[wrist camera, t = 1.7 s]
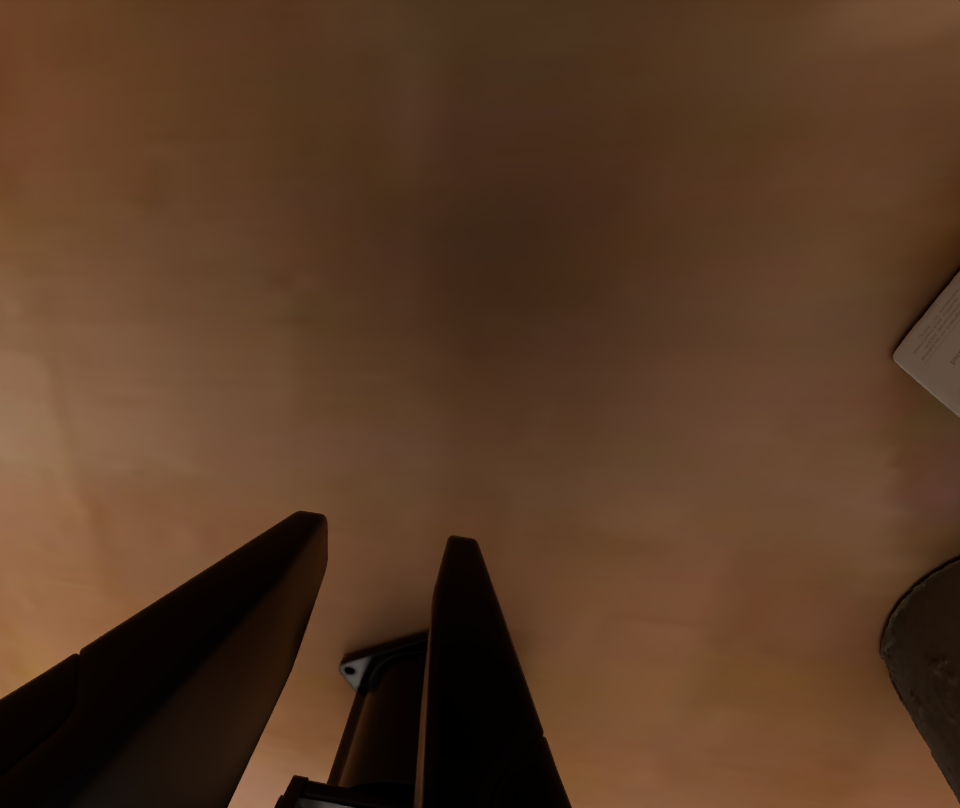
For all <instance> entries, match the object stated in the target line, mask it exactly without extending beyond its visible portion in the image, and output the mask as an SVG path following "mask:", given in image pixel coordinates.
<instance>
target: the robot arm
mask: <svg viewBox="0 0 960 808" xmlns="http://www.w3.org/2000/svg"><path fill="white" fill-rule="evenodd" d="M327 561H328V523H327V518H326V517H325V516H324V515H323V514H319V513H313V512H307V511H298V512H295V513H294V514H292V515H290V516H289V517H287V518H286V519H284V520H283V521H281V522H279V523H278V524H276V525H275V526H273V527H272V528H270V529H268V530H267V531H265V532H264V533H262V534H261V535H259V536H258V537H256V538H254V539H253V540H251V541H250V542H248V543H247V544H245V545H243V546H242V547H240V548H239V549H237V550H236V551H234V552H232V553H231V554H229V555H228V556H226V557H225V558H223V559H222V560H220V561H218V562H217V563H215V564H214V565H212V566H211V567H209V568H207V569H206V570H204V571H203V572H201V573H200V574H198V575H196V576H195V577H193V578H192V579H190V580H189V581H187V582H186V583H184V584H182V585H181V586H179V587H178V588H176V589H175V590H173V591H171V592H170V593H168V594H167V595H165V596H164V597H162V598H160V599H159V600H157V601H156V602H154V603H153V604H151V605H150V606H148V607H146V608H145V609H143V610H142V611H140V612H139V613H137V614H135V615H134V616H132V617H131V618H129V619H128V620H126V621H124V622H123V623H121V624H120V625H118V626H117V627H115V628H114V629H112V630H110V631H109V632H107V633H106V634H104V635H103V636H101V637H99V638H98V639H96V640H95V641H93V642H92V643H90V644H89V645H87V646H85V647H84V648H82V649H81V650H80V654H79V655H78V654H72V655H71V656H69V657H68V658H66V659H65V660H63V661H62V662H60V663H58V664H57V665H55V666H54V667H52V668H51V669H49V670H47V671H46V672H44V673H43V674H41V675H39V676H38V677H36V678H34V679H33V680H31V681H30V682H28V683H26V684H25V685H23V686H21V687H20V688H18V689H17V690H15V691H13V692H12V693H10V694H8V695H7V696H5V697H3V698H2V699H0V808H227V807H228V805H229V803H230V801H231V799H232V796H233V794H234V792H235V790H236V788H237V786H238V784H239V782H240V779H241V777H242V775H243V773H244V771H245V769H246V767H247V765H248V762H249V760H250V758H251V756H252V754H253V752H254V750H255V748H256V745H257V743H258V741H259V739H260V737H261V735H262V733H263V731H264V728H265V726H266V724H267V722H268V720H269V718H270V716H271V714H272V711H273V709H274V707H275V705H276V703H277V701H278V699H279V697H280V694H281V692H282V690H283V688H284V686H285V684H286V682H287V679H288V677H289V675H290V672H291V670H292V668H293V665H294V662H295V659H296V657H297V654H298V651H299V648H300V645H301V642H302V639H303V636H304V633H305V630H306V628H307V625H308V622H309V619H310V616H311V613H312V610H313V607H314V604H315V601H316V598H317V595H318V592H319V589H320V586H321V583H322V580H323V577H324V574H325V571H326V567H327ZM339 672H340V673H341V675H342V676H343V677H344V678H345V679H346V681H347V682H348V683H349V684H350V685H351V687H352V688H353V689H354V690H355V691H356V696H355V699H354V702H353V705H352V708H351V711H350V714H349V717H348V720H347V723H346V726H345V729H344V732H343V735H342V738H341V741H340V745H339V748H338V751H337V754H336V757H335V760H334V763H333V766H332V769H331V772H330V775H329V778H328V781H327V784H325V783H320V782H314V781H309V779H308V777H303V776H297V775H294V776H293V778H292V780H291V782H290V784H289V786H288V788H287V790H286V792H285V794H284V796H283V795H281V796H280V797H279V799H278V801H277V803H276V805H275V807H274V808H572V807H571V804H570V802H569V799H568V797H567V794H566V791H565V789H564V786H563V784H562V781H561V778H560V776H559V773H558V771H557V768H556V765H555V762H554V760H553V757H552V754H551V751H550V748H549V745H548V742H547V739H546V738H545V737H544V736H543V729H542V726H541V723H540V720H539V717H538V714H537V712H536V709H535V706H534V703H533V700H532V697H531V694H530V691H529V688H528V686H527V683H526V680H525V677H524V674H523V671H522V668H521V665H520V663H519V660H518V657H517V654H516V651H515V648H514V645H513V642H512V640H511V637H510V634H509V631H508V628H507V625H506V622H505V619H504V616H503V614H502V611H501V608H500V605H499V602H498V599H497V596H496V593H495V591H494V588H493V585H492V582H491V579H490V576H489V573H488V570H487V568H486V565H485V562H484V559H483V556H482V553H481V550H480V547H479V545H478V542H477V541H476V540H475V539H472V538H466V537H460V536H450V537H449V538H448V540H447V544H446V547H445V551H444V555H443V558H442V562H441V565H440V569H439V573H438V576H437V580H436V584H435V587H434V592H433V597H432V607H431V616H430V626H429V632H427V633H423V634H420V635H416V636H413V637H410V638H406V639H403V640H399V641H396V642H393V643H389V644H386V645H382V646H379V647H375V648H372V649H369V650H365V651H362V652H358V653H355V654H351V655H348V656H345V657H343V659H342V660H341V663H340V665H339Z"/></svg>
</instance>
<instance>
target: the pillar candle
mask: <svg viewBox="0 0 960 808" xmlns="http://www.w3.org/2000/svg"><path fill="white" fill-rule="evenodd" d="M880 654H881V658H882V659H884V660H885V664H886V667H888V669H889V673H890V680H891V682H892V684H893V686H894V688H895V690H896V692H897V694H898V696H899V699H900V700H901V702H902V703H903V705H904V706H905V708H906V710H907V711H908V712H909V714H910V716H911V718H912V720H913V722H914V724H915V726H916V728H917V730H918V731H919V733H920V734H921V736H922V737H923V739H924V740H925V742H926V743H927V744H928V746H929V748H930V750H931V754H932V757H933V758H934V760H935V761H936V763H937V765H938V767H939V768H940V770H941V771H942V774H943V775H944V777H945V778H946V781H947V783H948V784H949V785H950V787H951V789H952V790H953V792H954V794H955V796H956V797H957V799H958V802H959V804H960V560H958V561H955V562H953V563H951V564H949V565H947V566H945V567H944V569H942V570H940V571H936V572H935V573H933V574H932V575H930V576H929V577H928V578H927V579H926V580H925V581H923V582H922V583H921V584H920V585H918V586H915V587H914V588H913V590H912V593H911V594H908V595H907V596H906V598H905V599H903V601H902V602H901V603H900V605H899V606H898V607H897V609H896V610H895V612H894V613H893V614H892V616H891V617H890V620H889V624H888V627H886V632H885V634H884V636H883V638H882V642H881V650H880Z"/></svg>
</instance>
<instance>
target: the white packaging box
mask: <svg viewBox="0 0 960 808" xmlns="http://www.w3.org/2000/svg"><path fill="white" fill-rule="evenodd" d="M893 359H894V361H895V362H896V363H897V364H898V365H899V366H900V367H901V368H902V369H903V370H905V371H906V372H907V373H908V374H909V375H910V376H912V377H913V378H914V379H915V380H916V381H917V382H918V383H919V384H921V385H922V386H923V387H924V388H925V389H926V390H928V391H929V392H930V393H931V394H932V395H934V396H935V397H936V398H937V399H938V400H939V401H940V402H942V403H943V404H944V405H945V406H946V407H947V408H949V409H950V410H951V411H952V412H954V413H955V414H956V415H957V416H958V417H960V271H959V272H958V273H957V275H956V276H955V277H954V278H953V279H952V281H951V282H950V283H949V285H948V286H947V287H946V288H945V289H944V291H943V292H942V293H941V294H940V295H939V296H938V298H937V299H936V300H935V301H934V303H933V304H932V305H931V306H930V308H929V309H928V310H927V311H926V313H925V314H924V315H923V316H922V318H921V319H920V320H919V321H918V322H917V323H916V324H915V325H914V327H913V328H912V330H911V331H910V332H909V333H908V334H907V336H906V337H905V338H904V340H903V341H902V343H901V344H900V345H899V347H898V348H897V349H896V351H895V352H894V354H893Z"/></svg>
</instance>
